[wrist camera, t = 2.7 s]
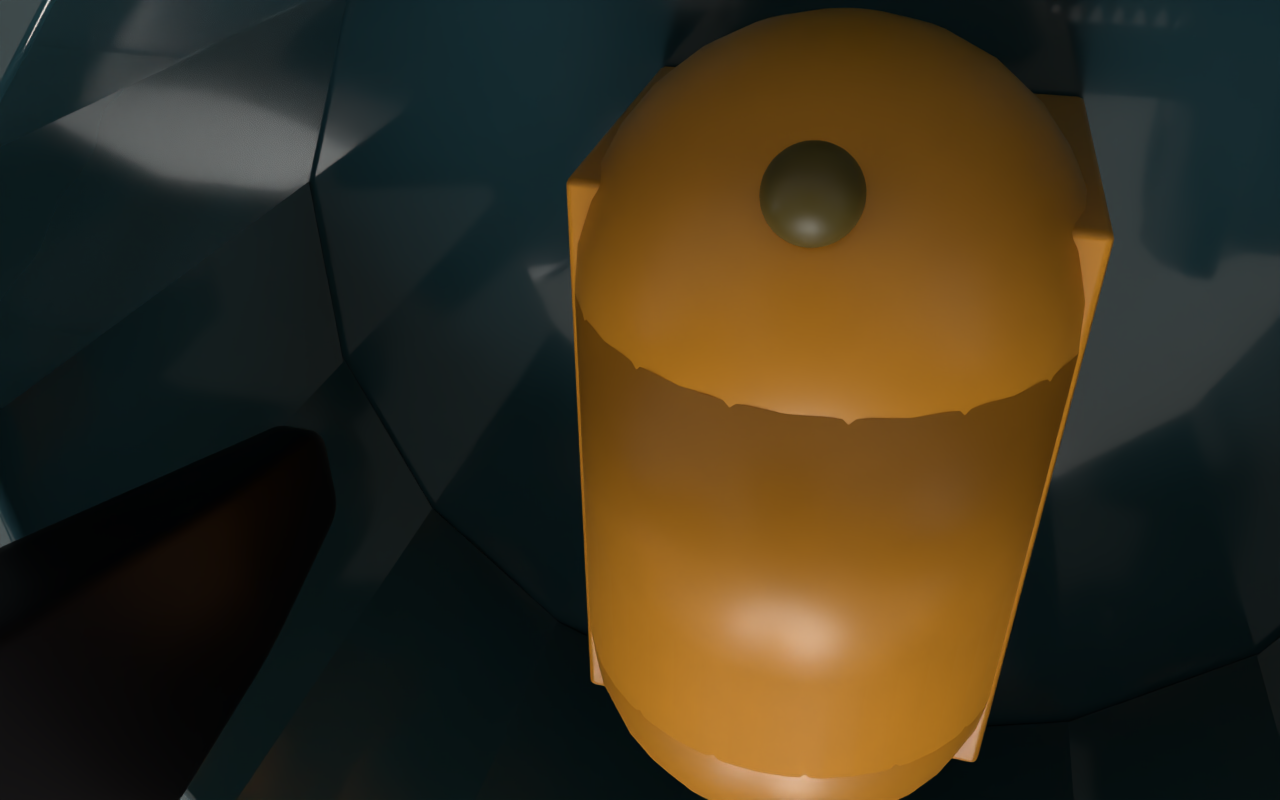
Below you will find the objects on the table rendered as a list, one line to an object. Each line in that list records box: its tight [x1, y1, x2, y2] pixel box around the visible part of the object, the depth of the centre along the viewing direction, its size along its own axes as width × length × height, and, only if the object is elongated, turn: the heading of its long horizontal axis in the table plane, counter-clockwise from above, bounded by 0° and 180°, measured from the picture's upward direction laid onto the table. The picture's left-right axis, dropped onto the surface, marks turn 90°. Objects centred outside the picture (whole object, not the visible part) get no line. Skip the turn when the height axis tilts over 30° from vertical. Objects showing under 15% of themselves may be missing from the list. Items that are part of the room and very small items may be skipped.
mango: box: [566, 8, 1114, 800], centre depth 11 cm, size 8×4×5 cm, turn 1°
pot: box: [0, 0, 1280, 800], centre depth 10 cm, size 15×15×6 cm
